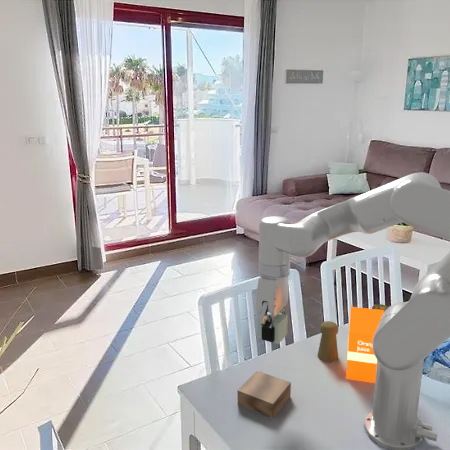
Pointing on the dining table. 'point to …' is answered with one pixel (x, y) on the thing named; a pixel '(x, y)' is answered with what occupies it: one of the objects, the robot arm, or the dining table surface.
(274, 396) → the walnut block
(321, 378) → the dining table surface
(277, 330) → the sage cube
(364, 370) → the orange juice
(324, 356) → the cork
